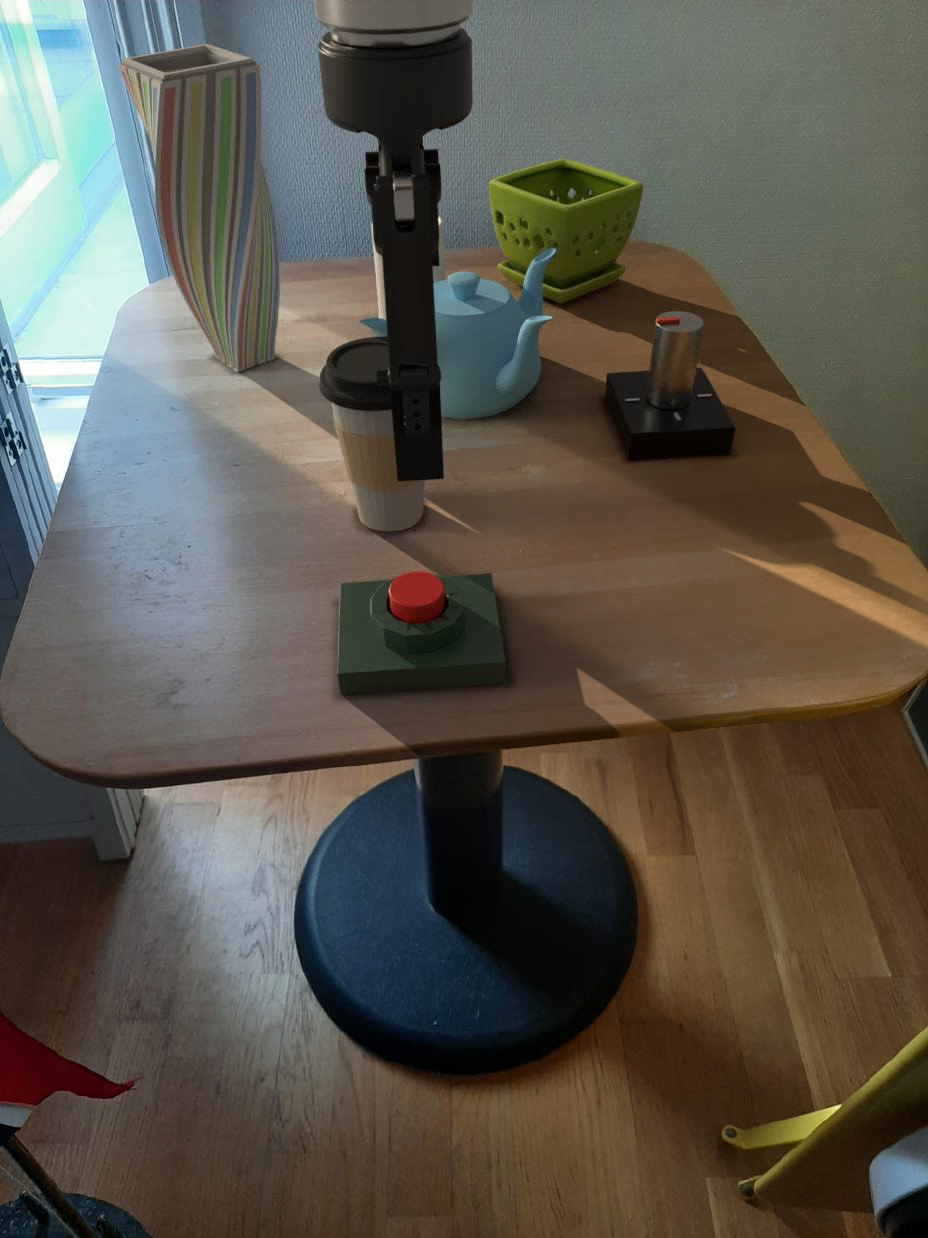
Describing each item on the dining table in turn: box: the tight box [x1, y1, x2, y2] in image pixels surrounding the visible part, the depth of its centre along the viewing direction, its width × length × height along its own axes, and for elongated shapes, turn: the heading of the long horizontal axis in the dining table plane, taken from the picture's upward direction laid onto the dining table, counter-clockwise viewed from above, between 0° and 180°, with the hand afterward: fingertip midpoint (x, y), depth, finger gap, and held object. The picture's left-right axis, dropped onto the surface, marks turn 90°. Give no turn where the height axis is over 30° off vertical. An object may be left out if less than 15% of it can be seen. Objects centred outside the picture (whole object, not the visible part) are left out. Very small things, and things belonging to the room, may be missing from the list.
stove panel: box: [604, 367, 737, 461], centre depth 92 cm, size 12×10×3 cm
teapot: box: [359, 248, 556, 420], centre depth 95 cm, size 17×19×12 cm
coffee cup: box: [318, 336, 426, 533], centre depth 78 cm, size 9×9×15 cm
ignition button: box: [389, 571, 445, 624], centre depth 68 cm, size 4×4×2 cm
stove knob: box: [646, 310, 705, 409], centre depth 88 cm, size 4×4×8 cm
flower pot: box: [488, 158, 644, 304], centre depth 115 cm, size 14×14×13 cm
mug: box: [371, 215, 446, 320], centre depth 109 cm, size 12×8×12 cm
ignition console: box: [336, 572, 506, 696], centre depth 69 cm, size 10×12×4 cm
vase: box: [116, 43, 281, 373], centre depth 96 cm, size 14×14×30 cm
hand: (418, 417), depth 59 cm, fingers open, 13 cm apart
